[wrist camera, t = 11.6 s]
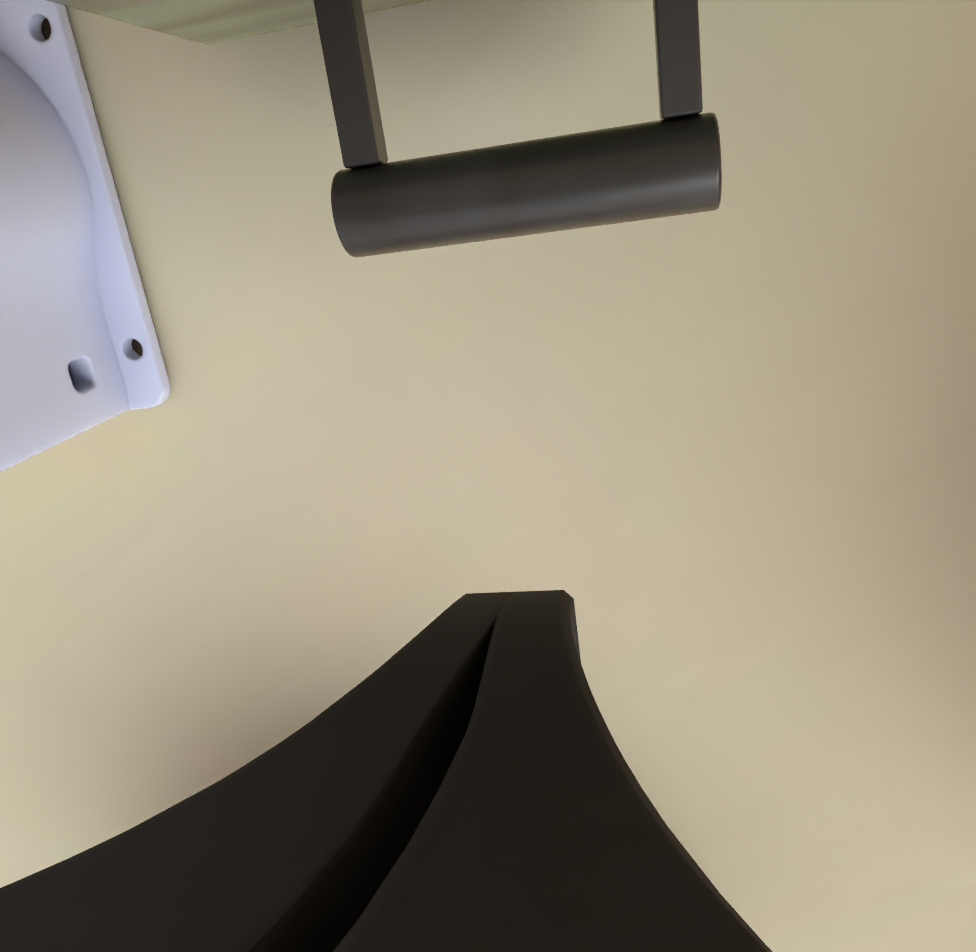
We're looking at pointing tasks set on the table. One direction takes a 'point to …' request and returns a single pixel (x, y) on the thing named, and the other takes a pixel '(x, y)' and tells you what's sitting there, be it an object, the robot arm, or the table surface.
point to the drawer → (486, 171)
